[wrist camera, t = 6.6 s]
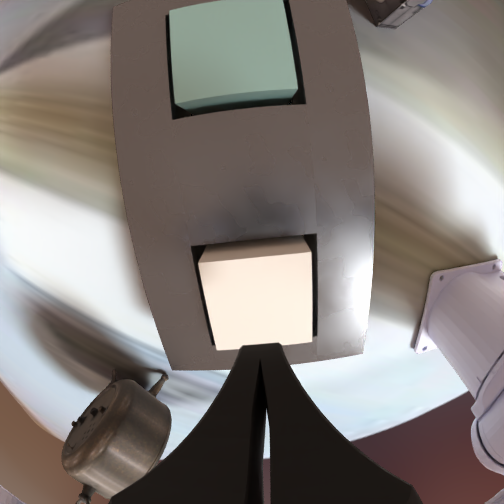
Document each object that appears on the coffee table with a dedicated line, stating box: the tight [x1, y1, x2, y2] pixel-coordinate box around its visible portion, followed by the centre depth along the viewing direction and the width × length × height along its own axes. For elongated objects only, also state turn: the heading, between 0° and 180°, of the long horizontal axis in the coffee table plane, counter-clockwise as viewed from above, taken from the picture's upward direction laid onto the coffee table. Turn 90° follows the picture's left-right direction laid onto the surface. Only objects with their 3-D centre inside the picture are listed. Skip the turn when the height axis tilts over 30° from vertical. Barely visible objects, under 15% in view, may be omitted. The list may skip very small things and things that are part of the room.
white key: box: [198, 235, 312, 350], centre depth 15 cm, size 5×5×4 cm
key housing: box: [111, 0, 375, 370], centre depth 14 cm, size 12×22×4 cm, turn 6°
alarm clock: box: [62, 370, 172, 504], centre depth 14 cm, size 11×5×16 cm, turn 131°
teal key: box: [169, 0, 298, 116], centre depth 11 cm, size 5×5×4 cm
